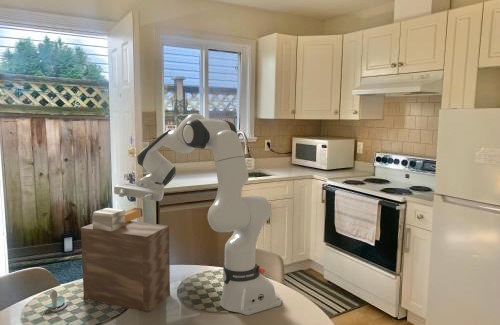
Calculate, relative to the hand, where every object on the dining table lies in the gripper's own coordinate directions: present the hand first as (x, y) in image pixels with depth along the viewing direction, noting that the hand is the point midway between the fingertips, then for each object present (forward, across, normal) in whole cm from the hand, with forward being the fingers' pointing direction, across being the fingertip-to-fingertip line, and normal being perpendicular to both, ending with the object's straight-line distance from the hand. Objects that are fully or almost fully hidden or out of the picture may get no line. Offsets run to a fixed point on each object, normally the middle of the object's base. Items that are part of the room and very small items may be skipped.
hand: (132, 196), depth 153 cm
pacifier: (+27, -14, +36) cm, 47 cm away
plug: (+7, +1, +8) cm, 11 cm away
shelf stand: (+15, +8, +34) cm, 38 cm away
